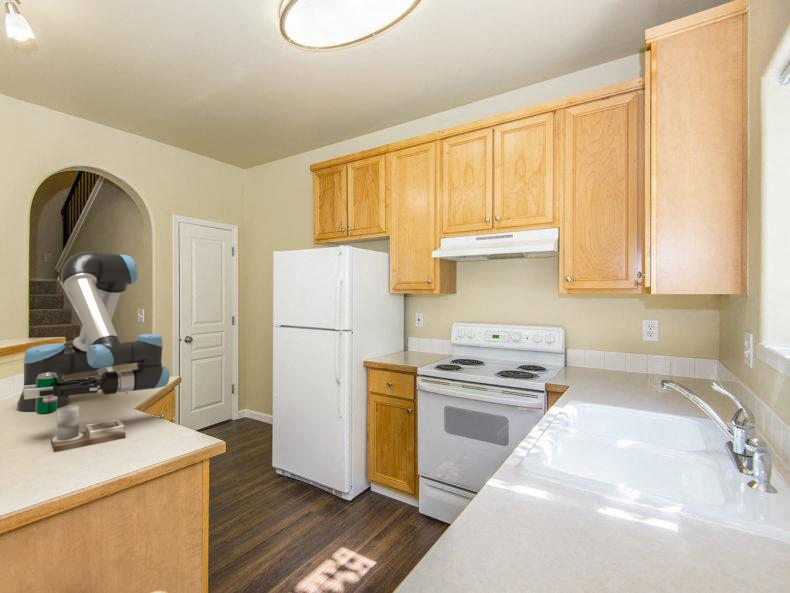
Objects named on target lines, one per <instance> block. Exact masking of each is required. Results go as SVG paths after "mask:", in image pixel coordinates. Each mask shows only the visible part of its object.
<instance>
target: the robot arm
mask: <svg viewBox="0 0 790 593" xmlns="http://www.w3.org/2000/svg"><path fill="white" fill-rule="evenodd" d="M60 279H61V282H62V285H63V287H64V289H65V290H66V291H68V292H69V293H70V295H71V298H72V301H73V303H74V305H75V307H76V310H77V313H78V315H79V317H80V320H81V322H82V327H81V330H80V333H79V336H78V337H75V338H74V339H73V340H72V344H71V345H68V346H66V345H65V343H61V342H60V343H59V342H56V343H55V342H54V343H46V344H41V345H36V346H33V347H30V348H28V349H27V350H26V351H25V352H24V359H23V385H22V386H23V389H22V392H21V394H20V396H19V399H18V400H17V404H16V405H17V406H16V409H17V411H20V412H36V398H40V397H49V396H53V395H54V396H57V409H59V408H63V407H66V406H67V405H68V404H70V397H71V396H80V395H86V394H97V393H98V391H100V390H101V393H102V394H103V395H104V396H105V395H115V394H116V393H118V394H121V393H125V394H128V393H129V392H136V391H144V390H155V389H158V388H164V387H167V386H168V384H169V381H170V370H169V368H168V366H164V365H163V363H162V361H163V360H162V359H163V347H164V345H163V336H161V334H157V333H144V334H139V335H138V336H137V340H133V341H124V342H123V341H122V342H121V340H120V339H119V337H118V333H117V332H116V329H115V327H114V325H113V323H112V320H113V316H114V313H115V310H116V306H117V304H118V301H119V297H120V295H121V294H123V293H125V292H126V290H127V287H128V285H130V286H131V285H133V284H135V283H136V281H137V279H138V266H137V263H136V262H135V259H133V257H132V256H130V255H127V254H122V253H108V252H107V253H106V252H97V251H96V252H95V251H81V252H78V253H75V254H73V255H72V256H70V257H69V258H67V259H66V261H65V262H64V263H63V266H62V268H61V273H60ZM131 364H137V365H136V367H137V368H134V369H133V368H132V369H131V368H130V369H123V370H118V371H115V370H114V371H103V370H105V369H106V368H110V367H116V366H122V365H123V366H124V365H131ZM99 371H103V372H102V374H101V378H96V377H92V376H88V377H83V378H82V377H81V378H75V379H74V378H73V379H65V377H66V376H67V377H68V376H74V375H81V374H89V373H95V372H99ZM42 373H56V375H57V376H58V387H57V385H54V389H53V387H46V388H36V378H37V377H38V374H42Z"/></svg>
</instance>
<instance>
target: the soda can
mask: <svg viewBox="0 0 790 593" xmlns="http://www.w3.org/2000/svg"><path fill="white" fill-rule="evenodd" d="M54 385H57V387H58V376H57V375H56V373H42V374H38V377H37V378H36V388H46V387H53V389H54ZM57 410H58V408H57V396H54V395H53V396H49V397H40V398H36V411H35V414H37V415H40V416H42V415H50V414H54V413H55V412H57Z"/></svg>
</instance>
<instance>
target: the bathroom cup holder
mask: <svg viewBox="0 0 790 593" xmlns="http://www.w3.org/2000/svg"><path fill="white" fill-rule="evenodd" d="M56 414H57V415H56V435H54V436H50V444H51V447H52V451H53V453H56V452H60V451H67V450H71V449H76V448H82V447H86V446H91V445H96V444H97V445H98V444H100V443H107V442H110V441H116V440H121V439H126V435H127V434H126V432H125V425H124V423H122V421H120V419H113V420H107V421H106V420H105V421H102V422H101V421H100V422H95V423H89V424H85V430H81V431H80V430H79V428H80V406H78V405H69V406H62V407H59V408H57V410H56Z"/></svg>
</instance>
